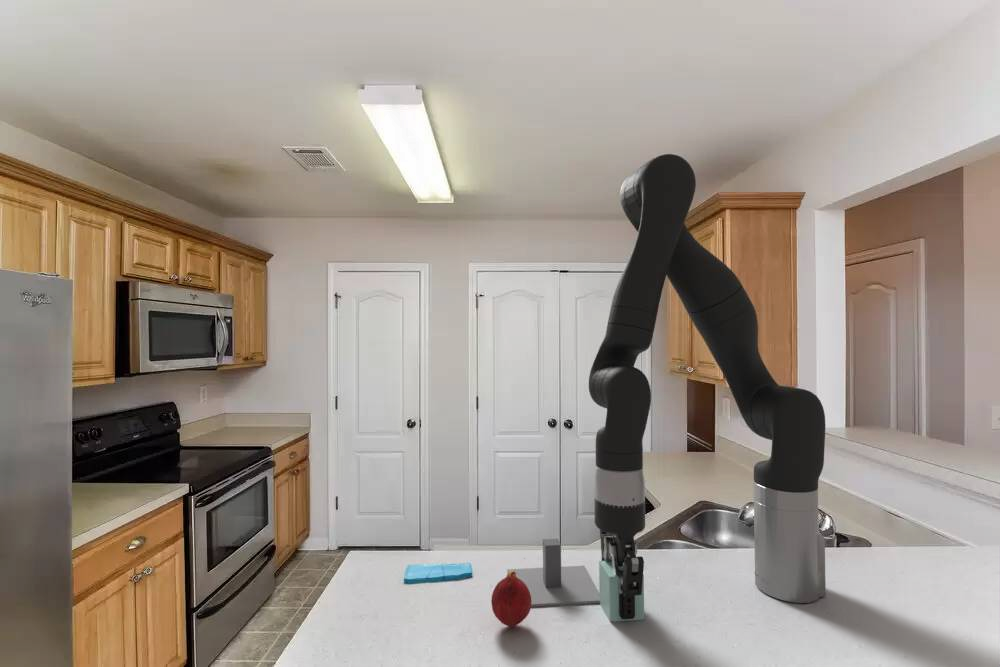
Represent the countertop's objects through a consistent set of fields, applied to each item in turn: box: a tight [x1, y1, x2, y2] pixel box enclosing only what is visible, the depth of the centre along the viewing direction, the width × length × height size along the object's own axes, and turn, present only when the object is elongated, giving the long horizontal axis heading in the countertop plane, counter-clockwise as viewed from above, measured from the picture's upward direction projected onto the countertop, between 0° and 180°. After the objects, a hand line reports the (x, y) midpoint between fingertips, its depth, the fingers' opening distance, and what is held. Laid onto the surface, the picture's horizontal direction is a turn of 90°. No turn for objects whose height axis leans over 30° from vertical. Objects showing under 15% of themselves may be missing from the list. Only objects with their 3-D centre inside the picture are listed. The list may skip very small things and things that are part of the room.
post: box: [542, 538, 562, 588], centre depth 85 cm, size 3×3×7 cm
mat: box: [506, 565, 600, 608], centre depth 85 cm, size 14×12×1 cm
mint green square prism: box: [598, 560, 645, 623], centre depth 77 cm, size 5×5×7 cm
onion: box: [490, 570, 532, 628], centre depth 73 cm, size 6×6×8 cm
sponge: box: [403, 562, 473, 585], centre depth 89 cm, size 2×12×6 cm
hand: (620, 606), depth 77 cm, fingers closed on mint green square prism, 5 cm apart
